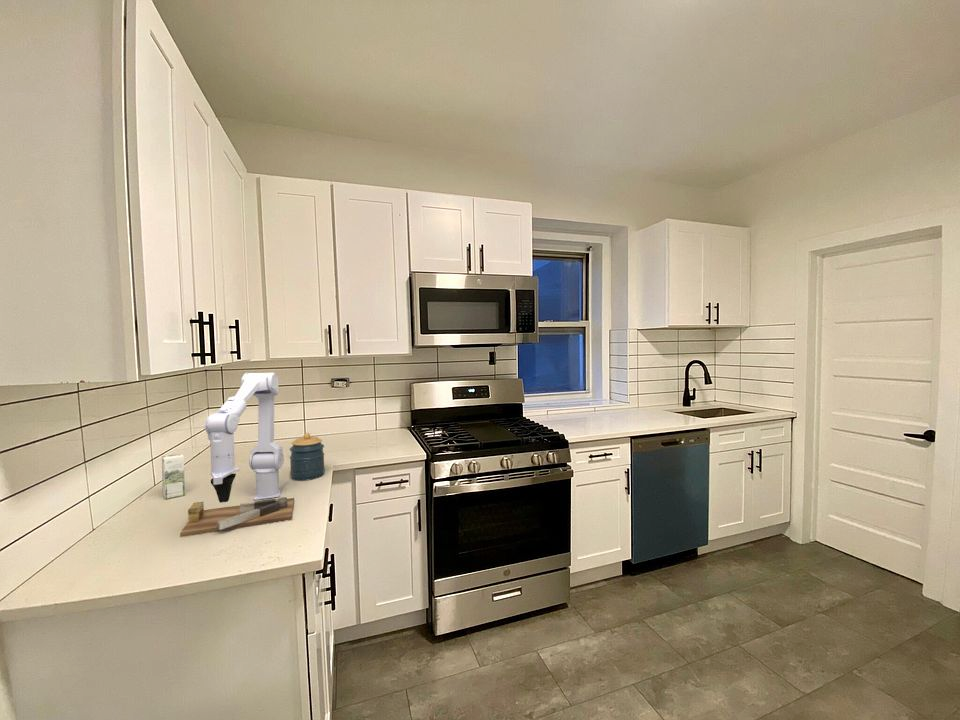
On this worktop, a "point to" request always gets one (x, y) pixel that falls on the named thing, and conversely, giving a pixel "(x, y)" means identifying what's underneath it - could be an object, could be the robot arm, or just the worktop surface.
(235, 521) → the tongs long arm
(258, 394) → the robot arm
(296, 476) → the canister
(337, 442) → the worktop surface
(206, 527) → the tong board
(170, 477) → the syrup box
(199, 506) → the wooden u-shaped block
